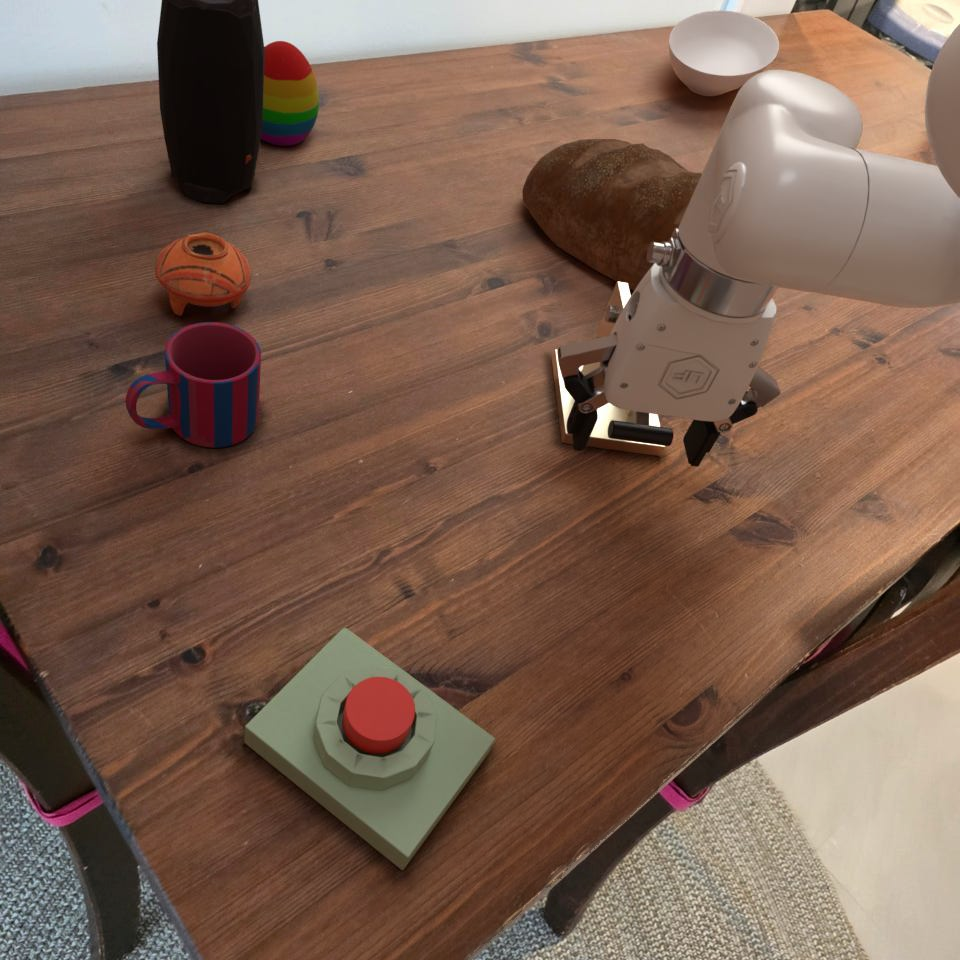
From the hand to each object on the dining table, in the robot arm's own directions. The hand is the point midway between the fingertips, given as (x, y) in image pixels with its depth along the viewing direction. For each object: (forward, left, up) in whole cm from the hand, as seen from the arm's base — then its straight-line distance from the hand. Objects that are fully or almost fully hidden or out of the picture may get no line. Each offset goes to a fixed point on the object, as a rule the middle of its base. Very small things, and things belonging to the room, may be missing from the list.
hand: (633, 445), depth 71 cm
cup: (+28, +20, -4) cm, 35 cm away
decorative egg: (+54, -18, -4) cm, 57 cm away
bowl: (+28, -86, -4) cm, 90 cm away
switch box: (+1, +32, -4) cm, 32 cm away
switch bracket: (+5, -7, -4) cm, 10 cm away
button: (+1, +32, -1) cm, 32 cm away
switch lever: (+3, -4, +3) cm, 6 cm away
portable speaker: (+51, -5, -4) cm, 52 cm away
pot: (+38, +9, -4) cm, 39 cm away
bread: (+14, -31, -4) cm, 35 cm away
